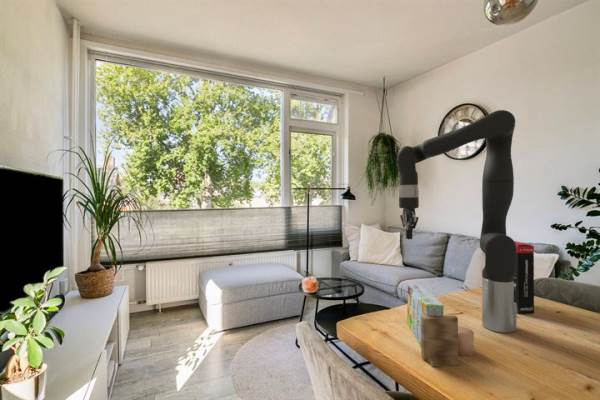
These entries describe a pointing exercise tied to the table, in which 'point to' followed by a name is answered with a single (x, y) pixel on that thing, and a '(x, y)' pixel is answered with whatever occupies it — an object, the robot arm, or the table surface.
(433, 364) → the walnut bookend
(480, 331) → the table surface
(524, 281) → the graphics card box
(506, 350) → the table surface
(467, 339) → the pinkish-brown rounded piece
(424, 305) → the snack box
